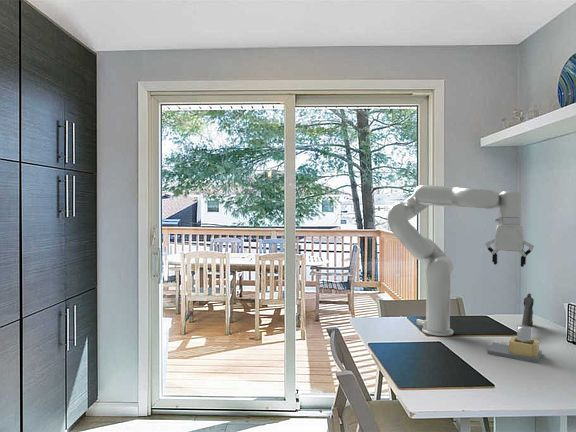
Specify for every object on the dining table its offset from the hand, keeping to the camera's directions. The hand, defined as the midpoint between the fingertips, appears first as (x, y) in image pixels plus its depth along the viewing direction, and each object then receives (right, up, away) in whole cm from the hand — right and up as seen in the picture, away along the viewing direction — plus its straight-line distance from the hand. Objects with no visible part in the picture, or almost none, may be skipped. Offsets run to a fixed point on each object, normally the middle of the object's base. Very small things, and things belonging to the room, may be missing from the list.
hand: (508, 265), depth 177 cm
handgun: (+15, -31, +14) cm, 37 cm away
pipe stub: (-3, -29, -16) cm, 34 cm away
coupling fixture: (-5, -31, -15) cm, 34 cm away
